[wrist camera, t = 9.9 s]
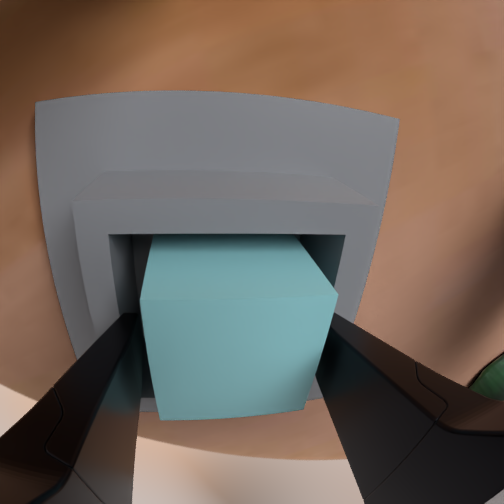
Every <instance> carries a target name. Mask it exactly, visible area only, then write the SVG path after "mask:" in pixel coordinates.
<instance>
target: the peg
mask: <svg viewBox="0 0 504 504" xmlns="http://www.w3.org/2000/svg"><path fill="white" fill-rule="evenodd" d="M337 298H338V293H337V292H336V290H335V289H334V288H333V286H332V285H331V284H330V282H329V281H328V280H327V278H326V277H325V275H324V274H323V273H322V271H321V270H320V269H319V267H318V266H317V265H316V263H315V262H314V261H313V259H312V258H311V257H310V255H309V254H308V253H307V251H306V250H305V249H304V247H303V246H302V245H301V243H300V242H299V241H298V239H297V238H296V237H295V235H294V234H154V235H153V239H152V244H151V248H150V253H149V257H148V262H147V266H146V271H145V276H144V281H143V286H142V291H141V297H140V305H141V313H142V321H143V328H144V335H145V342H146V349H147V355H148V361H149V367H150V372H151V378H152V383H153V388H154V394H155V398H156V403H157V408H158V413H159V417H160V420H203V419H222V418H236V417H248V416H258V415H267V414H275V413H283V412H290V411H297V410H303V409H304V406H305V403H306V400H307V397H308V395H309V392H310V389H311V386H312V383H313V380H314V376H315V373H316V370H317V367H318V364H319V361H320V358H321V354H322V351H323V348H324V344H325V341H326V338H327V334H328V331H329V327H330V324H331V320H332V317H333V313H334V309H335V306H336V302H337Z"/></svg>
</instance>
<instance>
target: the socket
mask: <svg viewBox="0 0 504 504" xmlns="http://www.w3.org/2000/svg"><path fill="white" fill-rule="evenodd" d="M399 120H400V119H397V118H393V117H389V116H385V115H380V114H376V113H372V112H367V111H363V110H358V109H353V108H348V107H343V106H337V105H332V104H326V103H320V102H314V101H307V100H300V99H293V98H285V97H277V96H268V95H257V94H246V93H232V92H214V91H134V92H116V93H103V94H92V95H82V96H74V97H66V98H58V99H52V100H45V101H39V102H35V142H36V163H37V176H38V187H39V196H40V205H41V213H42V220H43V226H44V233H45V239H46V244H47V250H48V255H49V260H50V265H51V269H52V274H53V278H54V283H55V287H56V291H57V295H58V299H59V303H60V306H61V310H62V313H63V317H64V320H65V324H66V327H67V330H68V334H69V337H70V340H71V343H72V346H73V349H74V352H75V355H76V358H77V360H78V359H79V358H80V357H81V356H82V355H83V353H84V352H85V351H86V350H87V349H88V348H89V347H90V346H91V345H92V344H93V343H94V342H95V341H96V340H97V339H98V338H99V337H100V336H101V335H102V334H103V333H104V332H105V331H106V330H107V329H108V328H109V327H110V326H111V325H112V324H113V323H114V322H115V321H116V320H117V319H118V318H119V317H120V316H121V315H122V314H123V313H125V312H136V313H138V314H139V317H140V324H141V331H142V337H143V354H142V394H141V403H140V411H139V412H158V408H157V403H156V398H155V394H154V388H153V383H152V378H151V372H150V367H149V361H148V355H147V349H146V342H145V335H144V328H143V321H142V313H141V305H140V297H141V291H142V286H143V281H144V276H145V271H146V266H147V262H148V257H149V253H150V248H151V244H152V239H153V235H154V234H294V235H295V237H296V238H297V239H298V241H299V242H300V243H301V245H302V246H303V247H304V249H305V250H306V251H307V253H308V254H309V255H310V257H311V258H312V259H313V261H314V262H315V263H316V265H317V266H318V267H319V269H320V270H321V271H322V273H323V274H324V275H325V277H326V278H327V280H328V281H329V282H330V284H331V285H332V286H333V288H334V289H335V290H336V292H337V293H338V298H337V302H336V306H335V309H334V312H335V313H336V314H338V315H340V316H341V317H343V318H345V319H346V320H348V321H350V322H351V323H354V320H355V317H356V314H357V311H358V307H359V304H360V301H361V297H362V294H363V291H364V287H365V284H366V280H367V277H368V273H369V269H370V266H371V262H372V258H373V254H374V250H375V246H376V242H377V238H378V234H379V230H380V225H381V221H382V216H383V212H384V207H385V202H386V198H387V193H388V188H389V182H390V177H391V172H392V166H393V160H394V154H395V148H396V141H397V135H398V128H399ZM320 398H323V396H322V393H321V391H320V388H319V385H318V383H317V380H316V377H315V376H314V380H313V383H312V386H311V389H310V392H309V395H308V397H307V400H306V401H308V400H314V399H320Z"/></svg>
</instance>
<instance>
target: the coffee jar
mask: <svg viewBox="0 0 504 504" xmlns="http://www.w3.org/2000/svg"><path fill="white" fill-rule="evenodd" d="M469 389H471V390H473V391H475V392H477V393H479V394H481V395H483V396H485V397H488V398H490V399H494V400H499V401H504V354H503V355H502V356H500V357H499V358H498V359H496V360H495V361H494V362H493V363H491V364H490V365H489V366H487V367H486V368H485V369H484V370H483V371H482V373H481V374H480V376H479V377H478V378H477V380H476V381H475V382H474V383H473V385H471V386H470V388H469Z"/></svg>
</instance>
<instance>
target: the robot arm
mask: <svg viewBox="0 0 504 504" xmlns="http://www.w3.org/2000/svg"><path fill="white" fill-rule="evenodd" d="M142 354H143V337H142V331H141V324H140V317H139V314H138V313H136V312H125V313H123V314H122V315H121V316H120V317H119V318H118V319H117V320H116V321H115V322H114V323H113V324H112V325H111V326H110V327H109V328H108V329H107V330H106V331H105V332H104V333H103V334H102V335H101V336H100V337H99V338H98V339H97V340H96V341H95V342H94V343H93V344H92V345H91V346H90V347H89V348H88V349H87V350H86V351H85V352H84V353H83V355H82V356H81V357H80V358H79V359H78V360H77V361H76V362H75V363H74V364H73V365H72V366H71V367H70V368H69V369H68V370H67V371H66V372H65V374H64V375H63V376H62V377H61V378H60V379H59V380H58V381H57V382H56V383H55V384H54V386H53V387H54V388H53V387H52V388H50V390H49V391H48V392H47V393H46V394H45V395H44V396H43V397H42V398H41V399H40V400H39V401H38V402H37V403H36V404H35V405H34V407H33V408H32V409H31V410H29V411H28V412H27V413H26V414H25V415H24V416H23V417H22V418H21V419H20V420H19V421H18V422H17V423H15V424H14V425H13V426H12V427H11V428H10V429H9V430H8V431H7V432H5V433H4V434H3V435H2V436H1V437H0V504H132V490H133V474H134V461H135V449H136V439H137V429H138V420H139V411H140V403H141V394H142ZM315 377H316V380H317V383H318V385H319V388H320V391H321V393H322V396H323V398H324V401H325V403H326V406H327V408H328V411H329V413H330V416H331V418H332V421H333V423H334V426H335V428H336V431H337V433H338V436H339V439H340V441H341V444H342V446H343V449H344V451H345V454H346V456H347V459H348V461H349V464H350V467H351V469H352V472H353V474H354V477H355V479H356V482H357V485H358V487H359V490H360V493H361V495H362V498H363V499H364V503H365V504H504V401H499V400H494V399H490V398H488V397H485V396H483V395H481V394H479V393H477V392H475V391H473V390H471V389H468V388H466V387H464V386H462V385H460V384H458V383H456V382H454V381H452V380H450V379H448V378H446V377H444V376H442V375H440V374H438V373H436V372H435V371H433V370H431V369H429V368H427V367H426V366H424V365H422V364H421V363H419V362H417V361H416V362H415V360H414V359H412V358H410V357H409V356H407V355H405V354H404V353H402V352H400V351H399V350H397V349H395V348H393V347H392V346H390V345H388V344H387V343H385V342H383V341H382V340H380V339H378V338H377V337H375V336H373V335H372V334H370V333H368V332H367V331H365V330H363V329H362V328H360V327H358V326H357V325H355V324H353V323H351V322H350V321H348V320H346V319H345V318H343V317H341V316H340V315H338V314H336V313H335V312H334V313H333V317H332V320H331V324H330V327H329V331H328V334H327V338H326V341H325V344H324V348H323V351H322V354H321V358H320V361H319V364H318V367H317V370H316V373H315Z"/></svg>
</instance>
